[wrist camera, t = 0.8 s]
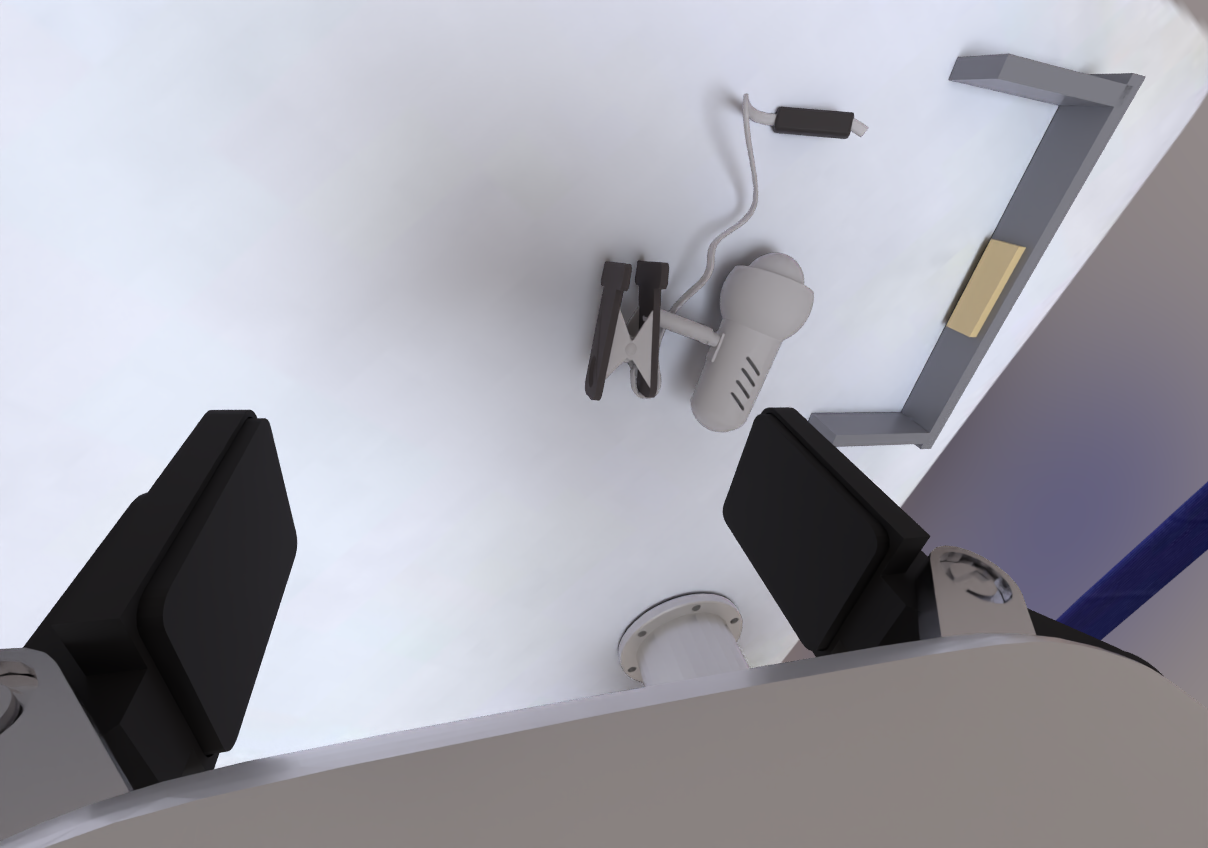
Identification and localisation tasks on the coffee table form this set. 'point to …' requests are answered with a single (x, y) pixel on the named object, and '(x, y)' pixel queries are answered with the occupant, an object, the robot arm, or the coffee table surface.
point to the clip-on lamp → (747, 302)
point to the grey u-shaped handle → (1002, 239)
